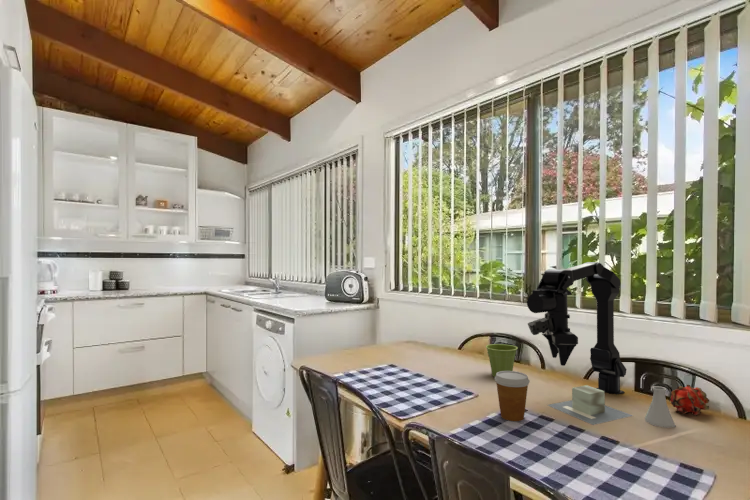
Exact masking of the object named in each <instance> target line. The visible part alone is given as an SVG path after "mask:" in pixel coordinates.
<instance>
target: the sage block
mask: <svg viewBox="0 0 750 500" xmlns="http://www.w3.org/2000/svg"><path fill="white" fill-rule="evenodd" d="M596 388H597V387H593V386H590V385H588V384H586V385H580V386H575V387H571V397H572V399H571V400H572V408H574V409H576V410H578V411H581V412H583V413H586V414H588V415H594V414H598V413H603V412H605V405H606V400H605V398H606V395H605V393H606V392H605V391H602V390H599V389H596Z"/></svg>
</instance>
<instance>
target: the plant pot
mask: <svg viewBox="0 0 750 500" xmlns="http://www.w3.org/2000/svg"><path fill="white" fill-rule="evenodd" d="M485 348H486V351H487V354H488V358H489V359H488V360H489V363H490V364H489V365H490V370H491V375H492V377H494V378H495V377H496V373H497V372H500V371H514V364H515V357H516V353H517V350H518V348H519V347H518V346H516V345H510V344H505V343H504V344H500V343H493V344H492V343H491V344H487V345H485Z"/></svg>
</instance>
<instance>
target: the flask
mask: <svg viewBox="0 0 750 500" xmlns="http://www.w3.org/2000/svg"><path fill="white" fill-rule="evenodd" d="M651 389H652V390H653V395H652V400H651V403H650V404H649V408H648V410H647V412H646V415H645V417H644V421H645V422H646V423H648V424H650V425H651V426H655V427H660V428H666V429H667V428H677V427H676V425H675V422H674V421H675V420H674V419H673V416H672V414H671V411H670V409H669V407H668V403H667V399H666V392H667V388H666V387H663V386H659V385H654V386H653V385H652V388H651Z"/></svg>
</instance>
